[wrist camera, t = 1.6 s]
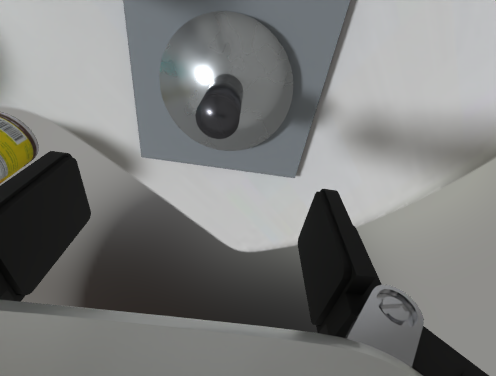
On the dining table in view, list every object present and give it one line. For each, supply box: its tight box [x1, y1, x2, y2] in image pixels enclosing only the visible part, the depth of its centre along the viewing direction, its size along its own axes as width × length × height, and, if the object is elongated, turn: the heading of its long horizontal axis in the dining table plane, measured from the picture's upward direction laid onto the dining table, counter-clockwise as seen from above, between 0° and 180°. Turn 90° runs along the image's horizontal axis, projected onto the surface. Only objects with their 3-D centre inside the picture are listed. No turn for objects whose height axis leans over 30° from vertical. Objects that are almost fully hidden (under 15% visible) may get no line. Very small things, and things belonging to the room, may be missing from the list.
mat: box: [123, 0, 350, 178], centre depth 22 cm, size 16×16×1 cm
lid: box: [159, 11, 293, 151], centre depth 19 cm, size 11×11×7 cm
